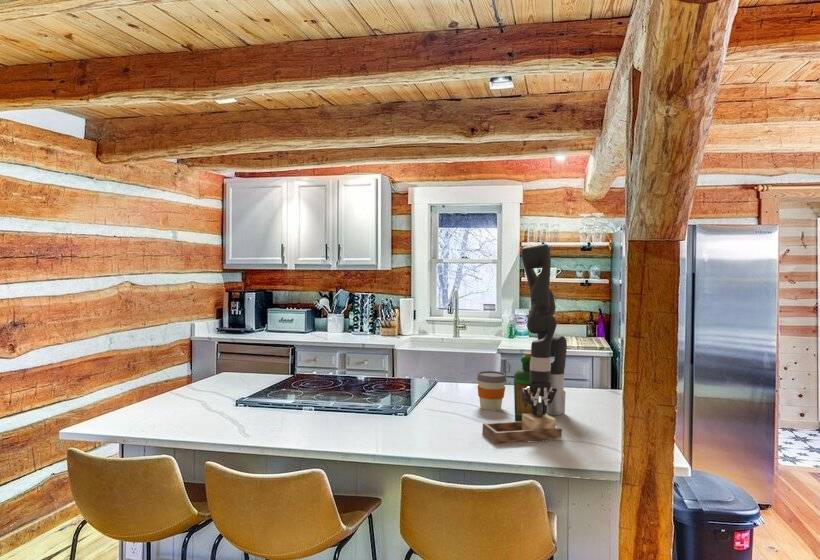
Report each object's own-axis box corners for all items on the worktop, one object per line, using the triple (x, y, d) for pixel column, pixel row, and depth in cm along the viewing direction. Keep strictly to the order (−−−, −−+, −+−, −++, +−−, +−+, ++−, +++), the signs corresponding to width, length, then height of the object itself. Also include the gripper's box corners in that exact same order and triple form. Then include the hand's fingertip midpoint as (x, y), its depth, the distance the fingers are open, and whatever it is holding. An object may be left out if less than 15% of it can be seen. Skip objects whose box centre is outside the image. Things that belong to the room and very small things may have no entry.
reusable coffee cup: (492, 413, 252) (493, 377, 251) (470, 406, 261) (471, 373, 260) (511, 408, 260) (512, 374, 259) (489, 402, 269) (490, 369, 269)
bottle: (523, 427, 232) (525, 356, 230) (506, 420, 241) (509, 351, 240) (544, 424, 236) (547, 354, 235) (527, 417, 246) (530, 350, 245)
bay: (545, 430, 229) (545, 419, 229) (561, 439, 217) (562, 429, 217) (482, 433, 222) (482, 423, 222) (495, 444, 210) (495, 433, 210)
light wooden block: (543, 428, 227) (544, 399, 226) (555, 435, 218) (556, 405, 218) (521, 429, 225) (522, 400, 224) (532, 436, 216) (533, 406, 215)
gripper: (552, 366, 226) (550, 411, 227) (518, 367, 222) (516, 413, 223) (562, 370, 219) (560, 416, 219) (527, 371, 215) (525, 418, 216)
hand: (538, 414), depth 221 cm, fingers closed on light wooden block, 3 cm apart
